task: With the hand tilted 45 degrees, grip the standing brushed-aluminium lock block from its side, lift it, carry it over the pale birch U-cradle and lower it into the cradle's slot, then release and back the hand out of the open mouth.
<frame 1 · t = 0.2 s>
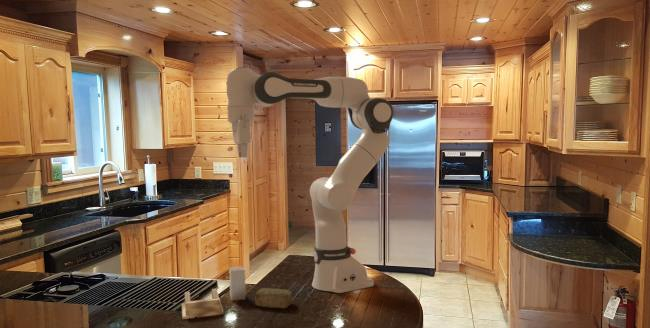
hand: (242, 157, 151), 47 cm above the worktop, tool pointing down, fingers open, 8 cm apart
stone block: (273, 306, 145), on the worktop
cradle: (202, 309, 141), on the worktop
lock block: (237, 297, 152), on the worktop
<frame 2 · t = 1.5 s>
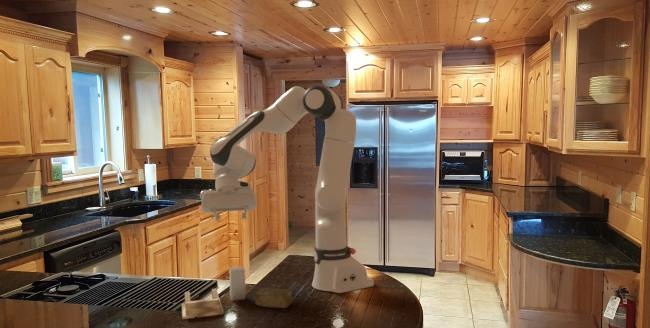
hand: (231, 219, 162), 25 cm above the worktop, tool tilted 45°, fingers open, 8 cm apart
nothing on the worktop moved.
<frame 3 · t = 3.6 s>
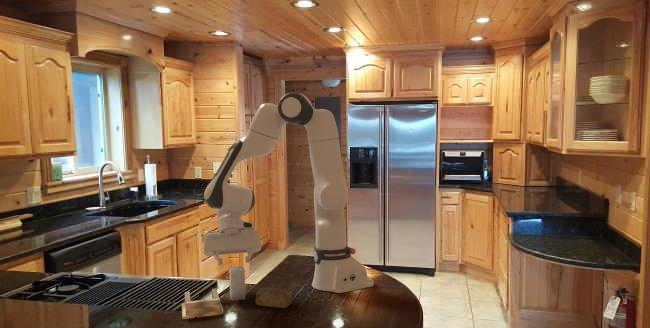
hand: (234, 263, 157), 10 cm above the worktop, tool tilted 45°, fingers open, 8 cm apart
nothing on the worktop moved.
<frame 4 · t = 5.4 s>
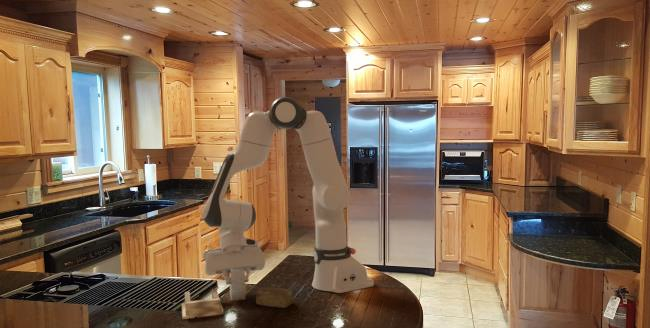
hand: (237, 282, 151), 5 cm above the worktop, tool tilted 45°, fingers closed on lock block, 4 cm apart
lock block: (237, 297, 152), on the worktop, touching gripper
everything else where it was.
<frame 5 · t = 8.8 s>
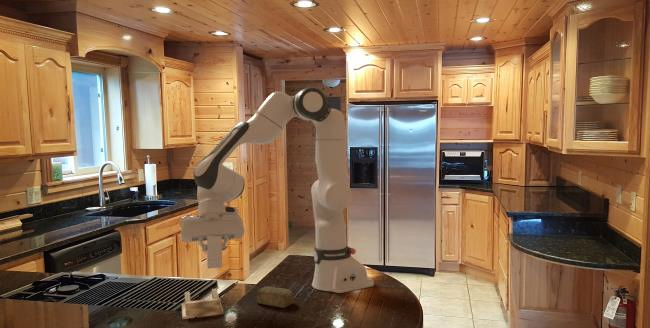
hand: (214, 250, 144), 18 cm above the worktop, tool tilted 45°, fingers closed on lock block, 4 cm apart
lock block: (214, 266, 145), point 13 cm above the worktop, touching gripper
when the fingers open (7 cm above the worktop, at t = 12.1 s): lock block drops 1 cm, resting on cradle.
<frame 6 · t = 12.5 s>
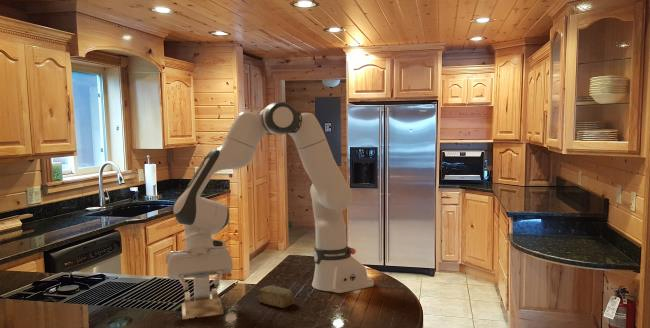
hand: (201, 287, 140), 7 cm above the worktop, tool tilted 45°, fingers open, 8 cm apart
lock block: (202, 307, 141), point 1 cm above the worktop, touching cradle
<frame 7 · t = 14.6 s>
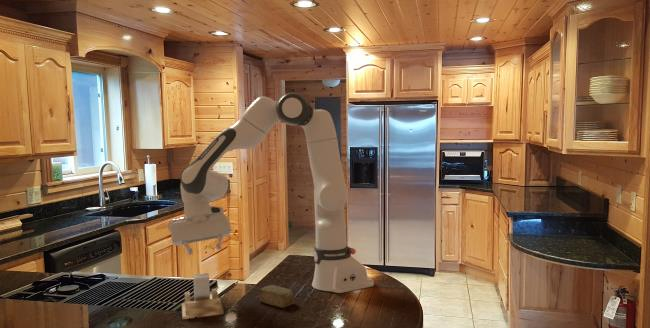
hand: (205, 251, 153), 15 cm above the worktop, tool tilted 35°, fingers open, 8 cm apart
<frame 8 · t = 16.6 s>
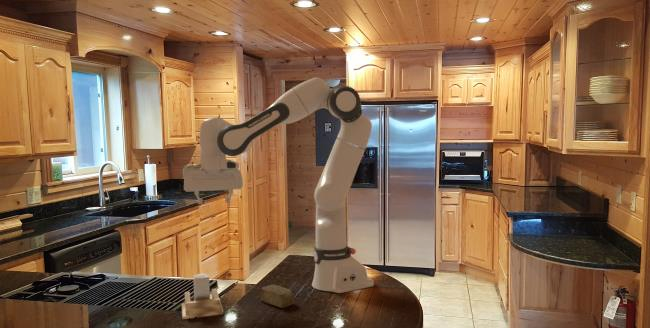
hand: (214, 203, 159), 31 cm above the worktop, tool pointing down, fingers open, 8 cm apart
at the end: lock block inside the target area on the cradle (0.5 cm from its centre), point 0.8 cm above the cradle's base; lock block tilted 0°; the gripper is holding nothing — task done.
